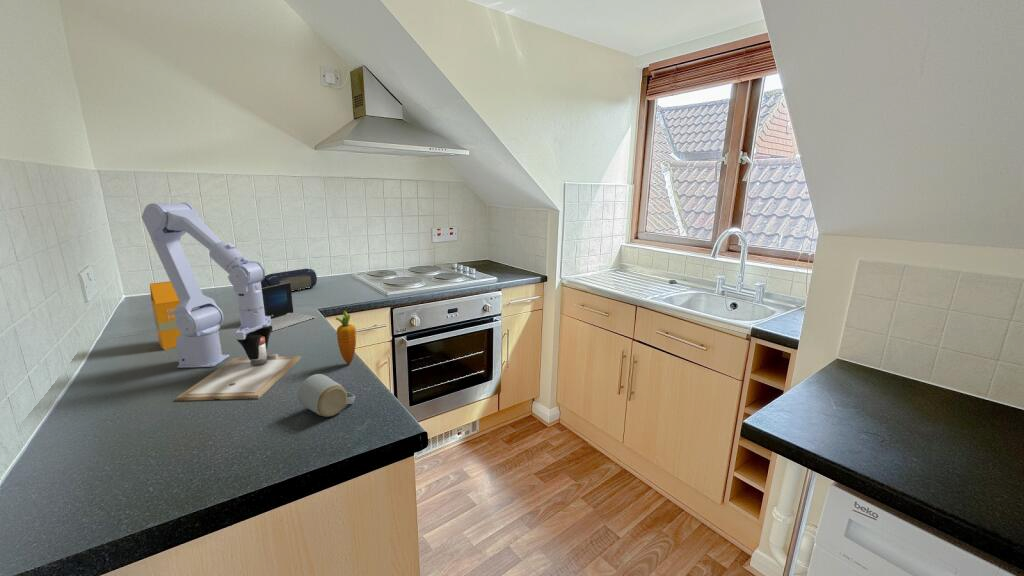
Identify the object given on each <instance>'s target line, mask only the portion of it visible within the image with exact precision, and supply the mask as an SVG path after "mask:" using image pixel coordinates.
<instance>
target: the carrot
mask: <svg viewBox="0 0 1024 576" xmlns="http://www.w3.org/2000/svg"><path fill="white" fill-rule="evenodd" d="M342 315H343V316H342V318H340V317H337V316H336V317H335V320H337V321H338V322H339V323H341V325H339V326H338V327H337V329H336V337H337V344H338V348H339V351H340V354H341V357H342V359H343V360H344V362H345V363H346V364H348V365H350V364H351V363H352V361H353V359H354V356H355V353H356V347H357V331H356V330H357V328H356V326H355V325H354V324H353V325H352V324H350V319H351V314H348V312H347V311H343V312H342Z"/></svg>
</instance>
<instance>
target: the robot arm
mask: <svg viewBox="0 0 1024 576" xmlns="http://www.w3.org/2000/svg"><path fill="white" fill-rule="evenodd" d="M141 219H142V221H143V224H144V226H145V227H146V230H147V232H148V235H149V237H150V240H151V242H152V244H153V247H154V249H155V251H156V254H157V255H158V258H159V259H160V260H159V261H160V262H161V264H162V266H163V269H164V271H165V272H166V275H167V276H168V277H167V278H168V279H169V281H171V284H172V286H173V288H174V290H175V292H176V295H177V297H178V299H179V301H180V303H179V304H178V306H177V307H176V308H175V310H174V311H173V313H174V315H175V318H176V326H177V328H178V330H179V331H180V332H181V334H180V335H179V336H178V337H177V340H176V348H175V349H176V354H177V359H178V365H177V368H179V369H181V368H184V369H185V368H210V367H211V368H213V367H215V366H217V365H218V364H220V363H221V362H223V361H224V360H226V359H227V358H229V357H230V354H223V353H222V346H221V339H220V332H219V329H221V325H222V323H223V322H224V312H223V311H222V309H221V308H220V307H219V306H218V305H217V303H216V301H215V300H214V299H213V298H211V297H208V296H207V295H204V294H203V291H202V289H201V287H200V284H199V282H198V280H197V277H196V276H195V273H194V272H193V271H194V270H193V269H192V266H191V264H190V262H189V260H188V258H187V256H186V253H185V251H184V248H183V246H182V245H181V242H180V240H181V238H182V236H184V235H185V234H186V233H187V234H188V235H190V236H191V237H192V238H194V239H195V240H196V241H197V242H199V243H200V244H201V245H203V247H205V248H206V249H208V250H209V257H210V258H211V260H213V261H214V262H215V263H216V264H217V265H218V266H219V267H220V268H221V269H223V270H224V271H225V272H226V273H227V274H228V275H227V278H228V282H230V284H231V285H232V287H233V291H234V292H235V293H236V298H237V306H238V313H239V321H240V326H239V327H238V329H237V330H236V331H235V332H234V336H235V337H234V338H235V340H236V341H237V342H238V343H239V344H240V345H241V346H242V348H243V350H244V351H245V353H246V357H248V358H249V360H257V359H258V357H259V341H260V338H261V336H264V337H265V345H266V352H267V351H268V344H269V338H270V336H271V333H272V332H273V331H272V329H273V328H272V326H270V325H271V324H270V323H271V317H270V316H265V311H264V304H263V296H262V288H261V281H262V280H263V279H264V277H265V276H266V272H265V268H264V267H263V266H262V264H261V262H258V261H256V260H251V259H249V258H247V257H246V256H245V255H244V254H242V253H241V252H240V251H239V250H238V249H237V248H236V245H235V244H233V243H230V242H227V241H223V242H222V241H221V239H220V238H218V236H217V235H216V234H214V232H213V231H212V230H211V228H209V227H208V226H207V225H206V224H205V223H204V222H203V220H202V219H201V218H200V213H199V211H198V210H196V209H195V208H194V207H193V206H192V205H191V204H190V203H188V202H179V203H177V202H176V203H173V202H172V203H148V204H147V205H146V206H145V207H144V210H143V212H142V215H141ZM192 309H193V310H192ZM191 310H192V311H191Z"/></svg>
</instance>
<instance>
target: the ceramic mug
mask: <svg viewBox="0 0 1024 576" xmlns="http://www.w3.org/2000/svg"><path fill="white" fill-rule="evenodd" d="M297 398H298V402H299V403H300V405H302V406H303V407H304V408H306V409H308V410H309V411H312V412H313V413H315V414H317V415H318V416H322V417H325V418H328V417H329V418H330V417H333V416H336V415H337V414H338V413H340V412H341V411H342V410H343V409H344V407H345V406H346V405H352V404H353V403H354V402H355V399H356V396H355V394H353V393H351V392H349V391H346V389H345V387H343V386H342V384H340V383H338V382H336V381H335V380H333V379H332V378H330V377H329V376H327V375H325V374H322V373H315V374H312V375H309V376H307V378H306V379H304V380H303V382H302V383H301V385H300V386H299V388H298V391H297Z"/></svg>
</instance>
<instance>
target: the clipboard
mask: <svg viewBox="0 0 1024 576" xmlns="http://www.w3.org/2000/svg"><path fill="white" fill-rule="evenodd" d="M301 359H302V356H301V355H292V356H291V355H290V356H289V355H288V356H284V355H283V356H279V353H267V360H268V362H267V363H265V364H262V365H251V362H250V360H249V358H248V356H242V357H234V358H232V359H231V360H229V361H228V362H227V363H225V364H223V365H222V366H220V367H219V368H217V369H216V370H215V371H213V372H212V373H210V374H209V375H207V376H205V377H204V378H203V379H202V380H200V381H198V382H197V383H195V384H194V385H193V386H191V387H190V388H188V389H187V390H185V391H184V392H182V393H181V394H179V395H178V396H176V401H177V402H179V401H180V402H182V401H210V400H212V401H213V400H214V399H220V400H246V399H248V398H249V399H251V398H252V399H260V398H261V397H262V396H263V395H264V394H265V393H266V392H267V391H268V390H269V389H271V387H273V385H275V382H276V383H277V381H279V380H280V379H281V378H282V377H283V376H284V375H285V374H286V373H288V371H290V370H291V368H293V367H294V366H295V365H296V364H297V363H298V362H299V361H300V360H301ZM249 399H248V400H249ZM252 399H251V400H252Z"/></svg>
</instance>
